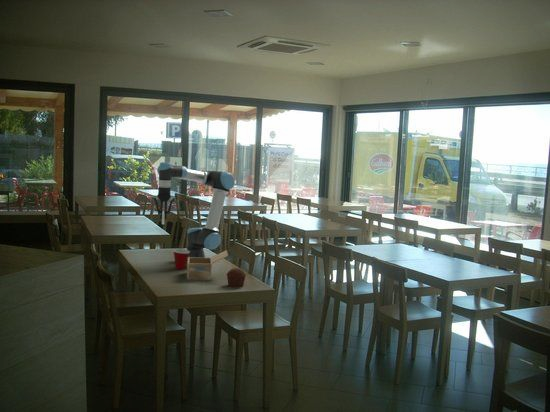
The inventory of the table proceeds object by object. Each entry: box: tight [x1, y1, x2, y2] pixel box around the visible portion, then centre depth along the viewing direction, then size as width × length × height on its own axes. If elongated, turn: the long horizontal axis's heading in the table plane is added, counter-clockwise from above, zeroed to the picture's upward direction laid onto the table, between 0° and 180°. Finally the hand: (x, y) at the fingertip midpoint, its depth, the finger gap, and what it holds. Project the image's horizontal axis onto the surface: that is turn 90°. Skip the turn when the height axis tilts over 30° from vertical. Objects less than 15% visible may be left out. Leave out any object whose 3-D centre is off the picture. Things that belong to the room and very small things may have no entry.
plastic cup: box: [173, 248, 190, 270], centre depth 373 cm, size 11×11×12 cm
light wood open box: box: [186, 257, 213, 281], centre depth 353 cm, size 21×14×10 cm
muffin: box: [226, 267, 247, 288], centre depth 334 cm, size 12×11×10 cm
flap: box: [210, 250, 229, 265], centre depth 354 cm, size 19×1×10 cm
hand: (163, 224), depth 364 cm, fingers closed
